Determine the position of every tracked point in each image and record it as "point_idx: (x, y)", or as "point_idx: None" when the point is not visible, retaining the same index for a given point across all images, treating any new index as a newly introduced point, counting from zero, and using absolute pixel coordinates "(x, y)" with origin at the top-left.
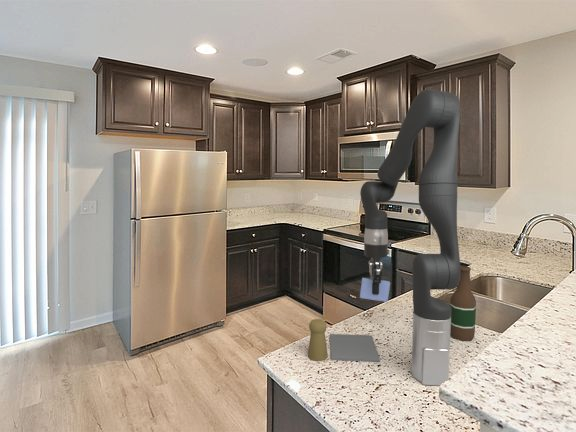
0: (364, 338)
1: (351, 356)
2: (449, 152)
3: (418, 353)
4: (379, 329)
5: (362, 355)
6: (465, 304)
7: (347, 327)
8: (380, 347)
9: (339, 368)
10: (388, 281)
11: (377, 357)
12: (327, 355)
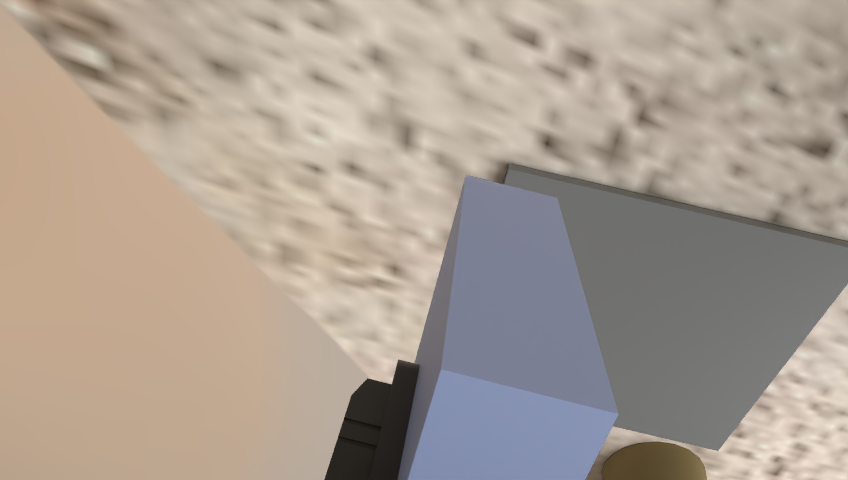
0: None
1: (746, 373)
2: None
3: None
4: (381, 50)
5: (762, 321)
6: None
7: (336, 261)
8: (679, 165)
9: (808, 435)
10: (467, 401)
11: (830, 254)
12: (681, 454)
